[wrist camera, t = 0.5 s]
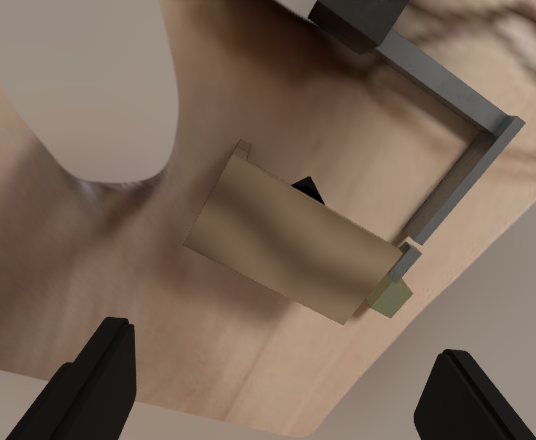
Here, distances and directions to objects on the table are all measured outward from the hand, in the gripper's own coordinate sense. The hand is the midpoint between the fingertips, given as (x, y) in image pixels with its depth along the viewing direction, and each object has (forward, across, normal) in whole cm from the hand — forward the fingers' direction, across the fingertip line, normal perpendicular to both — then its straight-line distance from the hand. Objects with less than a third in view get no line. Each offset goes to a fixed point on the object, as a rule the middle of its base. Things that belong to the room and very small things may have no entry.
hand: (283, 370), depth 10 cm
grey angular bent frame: (+27, -10, -6) cm, 30 cm away
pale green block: (+27, -16, +10) cm, 33 cm away
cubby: (+27, -3, +5) cm, 27 cm away
